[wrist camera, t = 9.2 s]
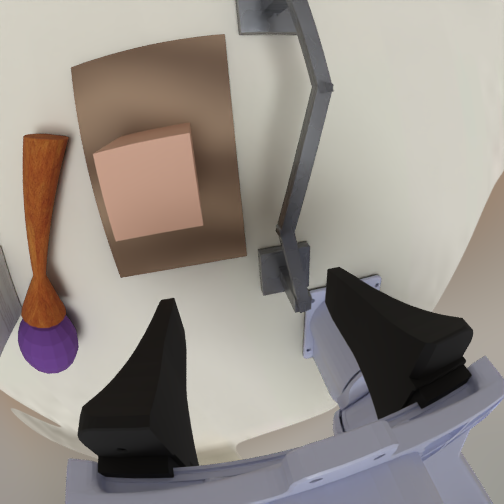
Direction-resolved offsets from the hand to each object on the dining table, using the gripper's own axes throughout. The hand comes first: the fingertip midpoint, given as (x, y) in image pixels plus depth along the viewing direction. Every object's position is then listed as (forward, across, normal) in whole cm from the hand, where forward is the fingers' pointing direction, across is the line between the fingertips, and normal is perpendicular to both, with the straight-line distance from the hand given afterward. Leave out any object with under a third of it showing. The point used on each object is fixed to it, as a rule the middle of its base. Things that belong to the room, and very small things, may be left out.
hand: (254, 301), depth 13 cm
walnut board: (+9, +4, -5) cm, 11 cm away
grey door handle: (+9, -4, -5) cm, 11 cm away
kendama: (+10, +15, 0) cm, 18 cm away
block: (+9, +4, -5) cm, 11 cm away
